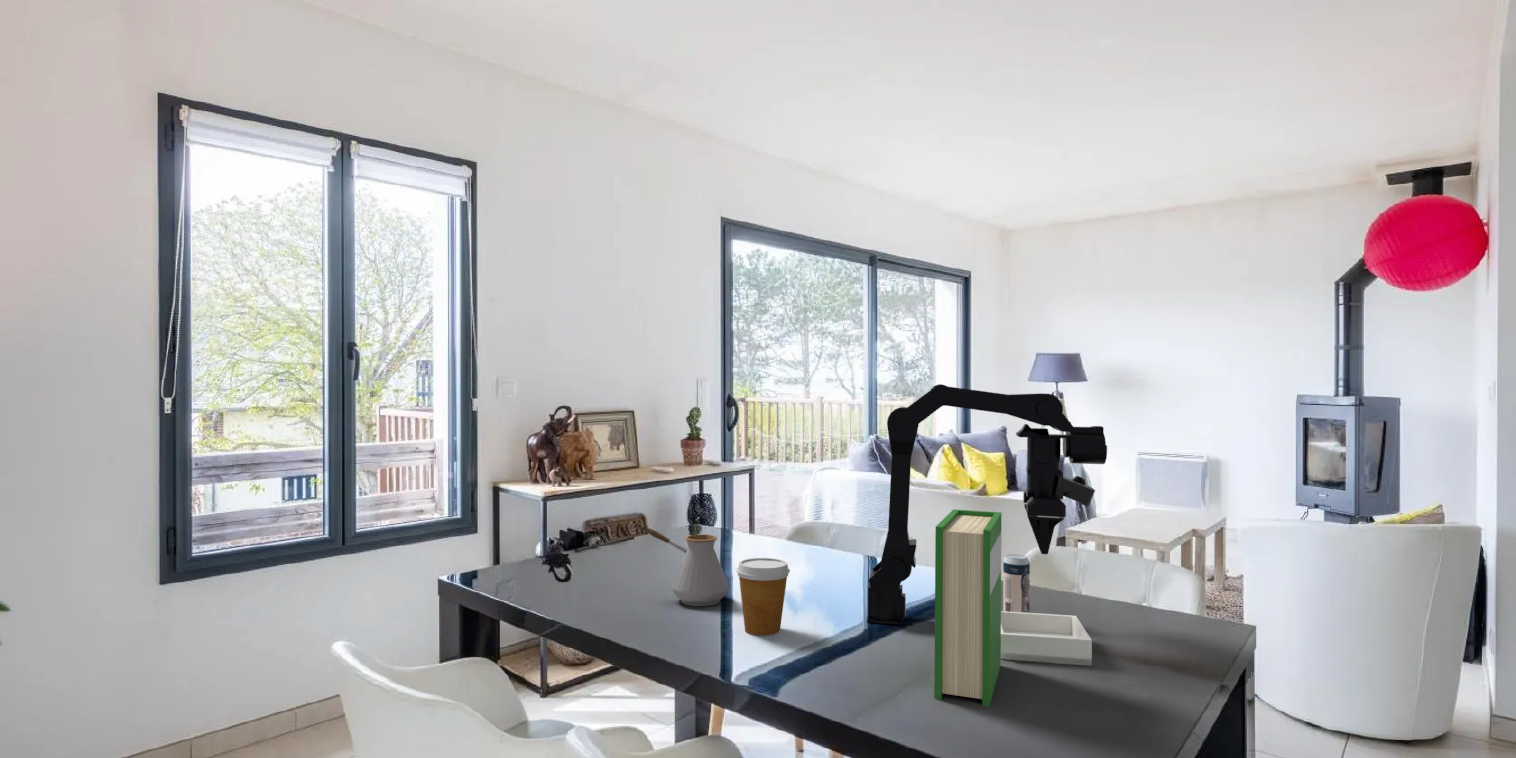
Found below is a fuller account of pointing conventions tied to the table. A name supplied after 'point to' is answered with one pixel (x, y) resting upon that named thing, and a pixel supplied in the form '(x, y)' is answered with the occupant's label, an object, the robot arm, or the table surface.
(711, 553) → the coffee pot
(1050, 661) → the bin
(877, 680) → the table surface
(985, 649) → the hardback book
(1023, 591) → the beer can
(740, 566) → the disposable coffee cup
